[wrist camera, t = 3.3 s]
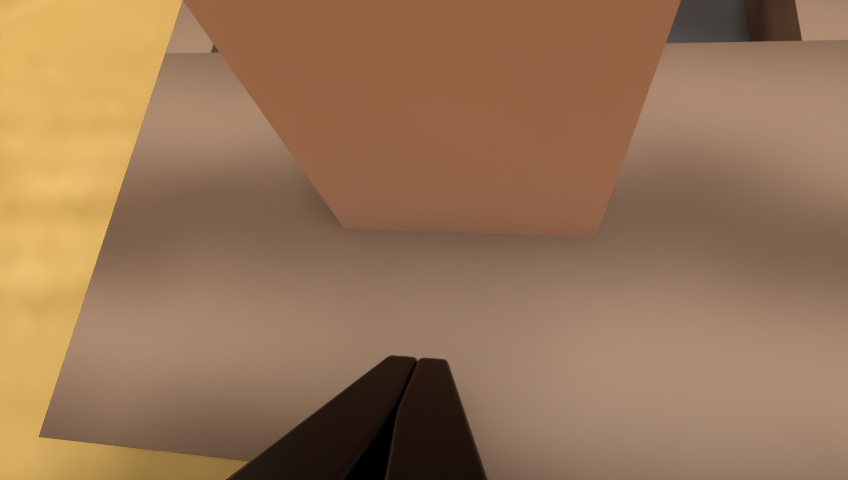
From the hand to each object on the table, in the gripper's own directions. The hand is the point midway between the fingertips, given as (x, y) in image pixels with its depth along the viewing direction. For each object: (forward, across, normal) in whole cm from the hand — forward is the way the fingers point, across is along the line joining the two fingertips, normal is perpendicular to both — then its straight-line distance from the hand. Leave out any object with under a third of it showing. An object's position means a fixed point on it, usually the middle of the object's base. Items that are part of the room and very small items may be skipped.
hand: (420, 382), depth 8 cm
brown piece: (+12, 0, -2) cm, 13 cm away
